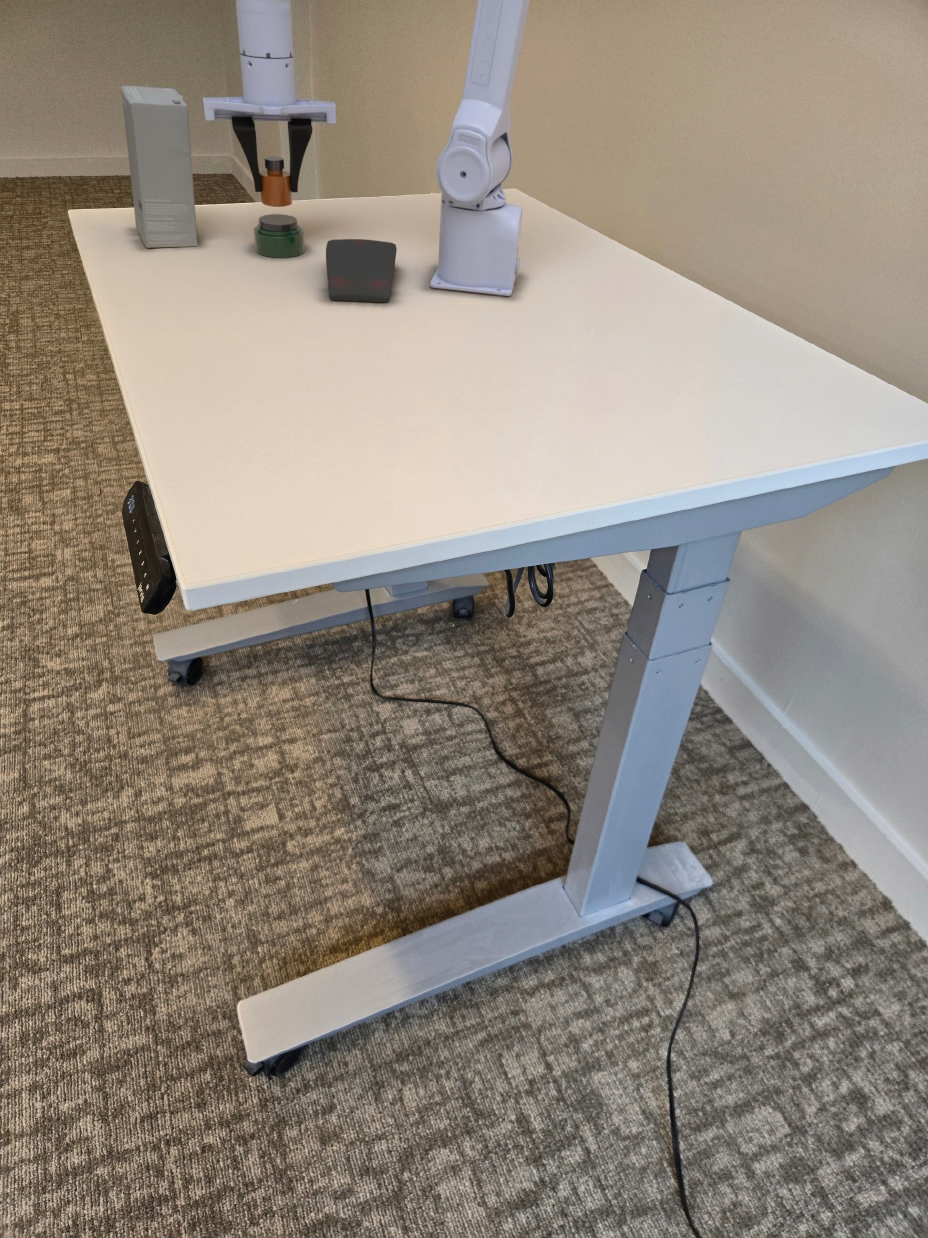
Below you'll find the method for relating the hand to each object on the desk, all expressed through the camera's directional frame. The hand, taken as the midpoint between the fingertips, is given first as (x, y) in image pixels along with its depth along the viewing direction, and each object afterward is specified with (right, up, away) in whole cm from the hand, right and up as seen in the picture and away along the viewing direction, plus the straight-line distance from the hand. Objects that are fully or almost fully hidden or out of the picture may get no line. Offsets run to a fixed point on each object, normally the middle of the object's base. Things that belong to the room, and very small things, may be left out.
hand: (275, 189), depth 103 cm
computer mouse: (+10, -12, -2) cm, 16 cm away
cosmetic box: (-14, -4, +5) cm, 16 cm away
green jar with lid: (0, -5, +4) cm, 7 cm away
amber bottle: (0, -1, +1) cm, 1 cm away
